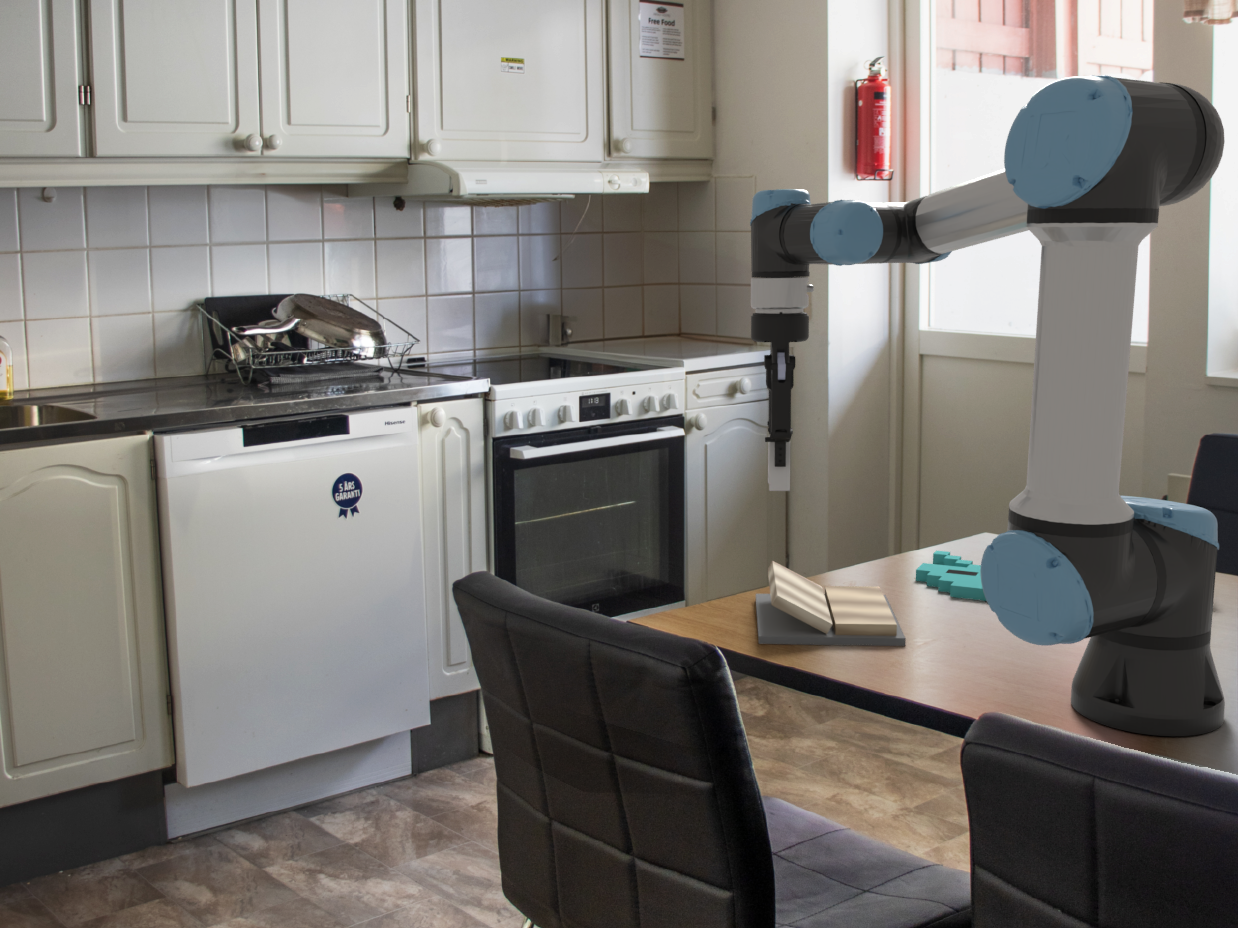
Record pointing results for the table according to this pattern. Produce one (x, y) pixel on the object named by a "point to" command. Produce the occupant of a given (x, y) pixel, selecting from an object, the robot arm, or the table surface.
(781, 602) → the birch plank
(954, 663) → the table surface
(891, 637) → the underlay mat
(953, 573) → the alien figure
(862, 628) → the floor strip
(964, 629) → the table surface
